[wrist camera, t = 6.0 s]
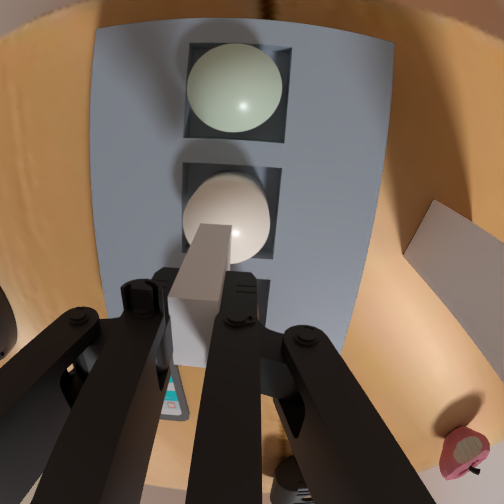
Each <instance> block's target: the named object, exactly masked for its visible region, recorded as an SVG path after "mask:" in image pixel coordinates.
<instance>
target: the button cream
mask: <svg viewBox="0 0 504 504" xmlns="http://www.w3.org/2000/svg"><path fill="white" fill-rule="evenodd" d="M200 223H204V224H221V225H232V237H231V258H230V264H235V263H239V262H242V261H245V260H247V259H249V258H251V257H252V256H254V255H255V254H256V253H257V252H259V250H260V249H261V248H262V247H263V245H264V244H265V242H266V240H267V238H268V235H269V230H270V216H269V209H268V201H267V196H266V193H265V191H264V189H263V187H262V186H261V184H260V183H259V182H258V181H257V180H256V179H255V178H254V177H252V176H251V175H249V174H247V173H245V172H242V171H238V170H223V171H219V172H216V173H214V174H212V175H211V176H209V177H208V178H207V179H205V180H204V181H203V183H202V184H201V185H200V186H199V188H198V189H197V190H196V192H195V193H194V194H193V196H192V197H191V198H190V200H189V201H188V203H187V205H186V207H185V210H184V214H183V229H184V233H185V236H186V238H187V240H188V242H189V244H190V245H191V243H192V241H193V239H194V236H195V234H196V232H197V230H198V228H199V226H200Z"/></svg>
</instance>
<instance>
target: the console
mask: <svg viewBox="0 0 504 504" xmlns="http://www.w3.org/2000/svg"><path fill="white" fill-rule="evenodd" d="M232 43H239V44H246V45H250V46H253V47H255V48H257V49H259V50H261V51H263V52H264V53H266V54H267V55H268V56H269V57H270V58H271V59H272V60H273V62H274V63H275V65H276V66H277V68H278V70H279V72H280V76H281V80H282V94H281V98H280V102H279V104H278V106H277V108H276V110H275V111H274V113H273V114H272V115H271V116H270V117H269V118H268V119H267V120H266V121H265V122H264V123H262V124H261V125H259V126H257V127H255V128H253V129H250V130H247V131H243V132H225V131H220V130H217V129H215V128H212V127H210V126H208V125H207V124H205V123H204V122H203V121H202V120H201V119H199V118H198V116H197V115H196V114H195V113H194V111H193V109H192V108H191V105H190V103H189V100H188V95H187V83H188V78H189V74H190V72H191V70H192V68H193V66H194V65H195V63H196V62H197V61H198V60H199V59H200V58H201V57H202V56H203V55H204V54H205V53H207V52H208V51H210V50H211V49H213V48H216V47H218V46H221V45H225V44H232ZM394 48H395V43H394V42H390V41H387V40H383V39H379V38H375V37H371V36H367V35H363V34H358V33H354V32H349V31H344V30H339V29H333V28H328V27H322V26H316V25H309V24H302V23H294V22H285V21H275V20H262V19H245V18H185V19H169V20H156V21H146V22H138V23H130V24H123V25H116V26H110V27H104V28H99V29H96V37H95V46H94V55H93V66H92V80H91V98H90V172H91V191H92V205H93V217H94V227H95V237H96V245H97V253H98V261H99V268H100V274H101V281H102V287H103V293H104V298H105V304H106V309H107V314H108V319H109V318H117V317H120V316H121V314H122V312H123V311H124V309H123V303H122V296H121V289H120V287H121V286H122V285H123V284H124V283H126V282H129V281H131V280H135V279H152V277H153V275H154V273H155V272H156V271H158V270H159V269H161V268H162V267H170V268H180V267H181V265H182V263H183V261H184V258H185V256H186V254H187V252H188V249H189V247H190V244H189V242H188V240H187V238H186V236H185V233H184V229H183V214H184V210H185V207H186V205H187V203H188V201H189V200H190V198H191V197H192V196H193V194H194V193H195V192H196V190H197V189H198V188H199V186H200V185H201V184H202V183H203V181H204V180H205V179H207V178H208V177H209V176H211V175H212V174H214V173H216V172H219V171H223V170H238V171H242V172H245V173H247V174H249V175H251V176H252V177H254V178H255V179H256V180H257V181H258V182H259V183H260V184H261V186H262V187H263V189H264V191H265V193H266V196H267V201H268V209H269V216H270V230H269V235H268V238H267V240H266V242H265V244H264V245H263V247H262V248H261V249H260V250H259V252H257V253H256V254H255V255H254V256H252V257H251V258H249V259H247V260H245V261H242V262H239V263H235V264H230V271H240V272H252V274H253V275H254V276H255V277H256V279H257V303H258V308H259V321H260V323H261V324H262V325H263V326H265V327H266V328H268V329H270V330H273V331H275V332H279V333H283V334H284V332H285V330H287V329H288V328H290V327H291V326H295V325H309V326H314V327H316V328H318V329H320V330H322V331H323V332H324V333H325V334H326V335H327V336H328V338H329V339H330V341H331V342H332V344H333V345H334V347H335V348H336V350H337V351H338V353H339V354H341V351H342V347H343V344H344V341H345V337H346V334H347V330H348V327H349V323H350V320H351V316H352V313H353V309H354V305H355V301H356V298H357V294H358V290H359V286H360V282H361V278H362V274H363V269H364V265H365V261H366V256H367V252H368V247H369V243H370V238H371V233H372V228H373V223H374V218H375V213H376V207H377V202H378V196H379V190H380V184H381V178H382V172H383V165H384V158H385V151H386V143H387V135H388V127H389V118H390V108H391V97H392V84H393V69H394ZM172 355H173V354H172Z"/></svg>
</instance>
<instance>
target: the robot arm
mask: <svg viewBox="0 0 504 504" xmlns="http://www.w3.org/2000/svg"><path fill="white" fill-rule="evenodd" d="M231 237H232V225H221V224H204V223H200V226H199V228H198V230H197V232H196V234H195V236H194V239H193V241H192V243H191V245H190V247H189V249H188V252H187V254H186V256H185V258H184V261H183V263H182V265H181V267H180V268H170V267H162V268H161V269H159V270H158V271H156V272H155V273H154V275H153V277H152V279H135V280H131V281H129V282H126V283H124V284H123V285H122V286H121V287H120V289H121V296H122V303H123V309H124V311H123V312H122V314H121V316H120V317H117V318H109V319H99V315H98V313H97V311H96V310H94V309H92V308H90V307H76V308H72V309H70V310H68V311H66V312H65V313H63V314H62V315H61V316H60V317H59V318H57V319H56V320H55V321H54V322H53V323H51V324H50V325H49V326H48V327H47V328H45V329H44V330H43V331H42V332H41V333H40V334H38V335H37V336H36V337H35V338H34V339H33V340H31V341H30V342H29V343H28V344H27V345H26V346H25V347H23V348H22V349H21V350H20V351H19V352H18V353H17V354H16V355H14V356H13V357H12V358H11V359H10V360H9V361H8V362H7V363H6V364H5V365H3V366H2V367H1V368H0V504H20V502H21V501H22V500H23V498H24V497H25V496H26V494H27V493H28V492H29V490H30V489H31V488H32V486H33V485H34V484H35V482H36V481H37V480H38V478H39V477H40V475H41V474H42V473H43V474H42V477H41V479H40V482H39V484H38V487H37V489H36V492H35V494H34V497H33V499H32V501H31V503H30V504H140V500H141V495H142V491H143V486H144V482H145V477H146V473H147V469H148V464H149V460H150V456H151V451H152V447H153V443H154V439H155V435H156V431H157V427H158V423H159V419H160V415H161V411H162V407H163V403H164V399H165V395H166V392H167V388H168V384H169V380H170V377H171V368H170V361H171V358H172V354H173V362H174V364H175V365H184V366H194V367H204V368H206V371H205V377H204V383H203V389H202V395H201V401H200V408H199V414H198V420H197V427H196V433H195V439H194V446H193V453H192V459H191V466H190V473H189V480H188V487H187V494H186V501H185V504H262V450H261V394H264V395H267V396H271V397H273V402H274V404H275V407H276V410H277V412H278V415H279V417H280V420H281V422H282V425H283V428H284V430H285V433H286V435H287V438H288V440H289V443H290V445H291V448H292V450H293V453H294V455H295V458H296V460H297V463H298V465H299V468H300V470H301V473H302V475H303V478H304V480H305V482H306V485H307V487H308V490H309V492H310V494H311V497H312V499H313V502H314V504H436V502H435V501H434V499H433V498H432V496H431V495H430V493H429V491H428V490H427V488H426V487H425V485H424V484H423V482H422V481H421V479H420V477H419V476H418V474H417V472H416V471H415V469H414V468H413V466H412V465H411V463H410V461H409V460H408V458H407V457H406V455H405V454H404V452H403V450H402V449H401V447H400V446H399V444H398V443H397V441H396V440H395V438H394V436H393V435H392V433H391V432H390V430H389V429H388V427H387V426H386V424H385V423H384V421H383V420H382V418H381V416H380V415H379V413H378V412H377V410H376V409H375V407H374V406H373V404H372V403H371V401H370V400H369V398H368V397H367V395H366V393H365V392H364V390H363V389H362V387H361V386H360V384H359V383H358V381H357V380H356V378H355V377H354V375H353V374H352V372H351V371H350V369H349V368H348V366H347V365H346V363H345V362H344V360H343V359H342V357H341V356H340V354H339V353H338V351H337V350H336V348H335V347H334V345H333V344H332V342H331V341H330V339H329V338H328V336H327V335H326V334H325V333H324V332H323V331H322V330H320V329H318V328H316V327H314V326H309V325H295V326H291V327H290V328H288V329H287V330H285V332H284V334H283V333H279V332H275V331H273V330H270V329H268V328H266V327H265V326H263V325H262V324H261V323H260V321H259V320H258V316H257V279H256V277H255V276H254V275H253V274H252V272H240V271H230V258H231ZM16 341H17V327H16V322H15V318H14V315H13V313H12V310H11V308H10V305H9V303H8V301H7V299H6V297H5V295H4V294H3V292H2V290H1V289H0V360H1V359H3V358H4V357H6V356H7V355H8V353H9V352H10V351H11V350H12V348H13V347H14V346H15V344H16ZM72 363H73V366H74V368H73V369H72V370H71V371H70V372H68V371H67V368H68V367H69V366H70V365H71V364H72Z"/></svg>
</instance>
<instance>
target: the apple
mask: <svg viewBox="0 0 504 504" xmlns="http://www.w3.org/2000/svg"><path fill="white" fill-rule="evenodd" d="M489 452H490V444H489V441H488V439H487V438H486V437H485V436H484V435H482V434H481V433H478V432H476V431H473V430H472V429H470V428H468V427H464V426H461V427H459V428H457V429H455V430H453V431H452V432H451V433H450V434H448V435H447V436H446V438H445V440H444V443H443V450H442V453H441V457H440V461H439V466H440V471H441V474H442V476H443V477H444V478H445V479H446V480H451V479H456V478H459V477H461V476H463V475H465V474H466V473H467V472H469V471H471V472H473V473H474V474H477V475H479V473H480V469H476V468H475V467H476V466H477V465H478V464H480V463H481V462H482V461H483V460H485V459H486V458H487V456H488V454H489Z"/></svg>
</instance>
